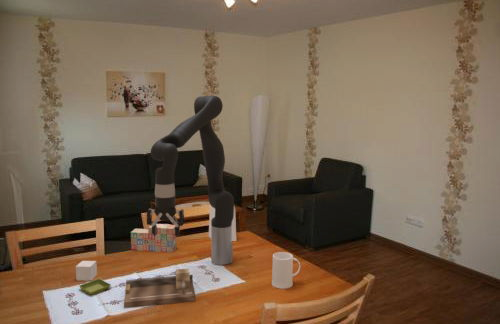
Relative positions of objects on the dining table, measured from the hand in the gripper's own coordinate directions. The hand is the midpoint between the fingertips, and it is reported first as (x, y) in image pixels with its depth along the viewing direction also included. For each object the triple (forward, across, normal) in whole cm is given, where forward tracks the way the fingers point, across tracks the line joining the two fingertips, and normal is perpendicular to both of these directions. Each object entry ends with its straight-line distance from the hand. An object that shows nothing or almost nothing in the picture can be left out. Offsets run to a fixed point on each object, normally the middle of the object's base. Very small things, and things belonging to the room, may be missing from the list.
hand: (165, 235), depth 155 cm
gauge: (+18, -8, +7) cm, 21 cm away
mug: (+21, -47, -6) cm, 52 cm away
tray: (+20, 0, +9) cm, 22 cm away
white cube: (+21, +35, -4) cm, 41 cm away
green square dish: (+21, +26, +6) cm, 34 cm away
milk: (+21, -15, -56) cm, 62 cm away
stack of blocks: (+21, +17, -39) cm, 47 cm away
